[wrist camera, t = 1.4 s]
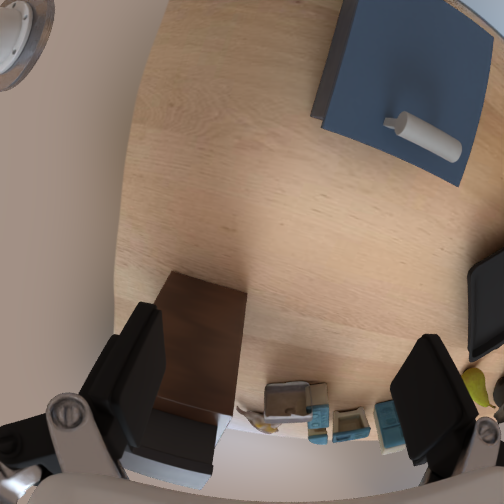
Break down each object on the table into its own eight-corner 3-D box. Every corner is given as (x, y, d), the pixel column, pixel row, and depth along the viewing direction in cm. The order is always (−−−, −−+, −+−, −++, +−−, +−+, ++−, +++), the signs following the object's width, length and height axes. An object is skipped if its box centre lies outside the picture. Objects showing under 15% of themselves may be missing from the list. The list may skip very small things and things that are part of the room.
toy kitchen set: (406, 364, 42) (424, 412, 33) (393, 408, 49) (404, 449, 39) (303, 382, 45) (307, 436, 35) (307, 423, 51) (310, 468, 41)
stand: (162, 326, 41) (120, 429, 25) (171, 270, 36) (114, 380, 20) (228, 345, 42) (210, 456, 25) (247, 293, 37) (232, 416, 21)
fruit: (452, 384, 46) (471, 427, 35) (459, 366, 43) (481, 412, 32) (473, 375, 45) (493, 416, 34) (480, 358, 42) (504, 400, 32)
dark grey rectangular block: (124, 423, 24) (110, 463, 19) (122, 396, 21) (103, 442, 17) (207, 448, 24) (200, 490, 20) (219, 425, 22) (212, 475, 17)
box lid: (454, 185, 22) (486, 203, 17) (320, 127, 21) (334, 131, 16) (489, 38, 14) (522, 33, 10) (365, -35, 13) (384, -61, 9)
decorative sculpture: (276, 424, 51) (276, 455, 45) (229, 415, 50) (225, 447, 44) (314, 380, 44) (318, 416, 38) (258, 367, 43) (256, 406, 37)
